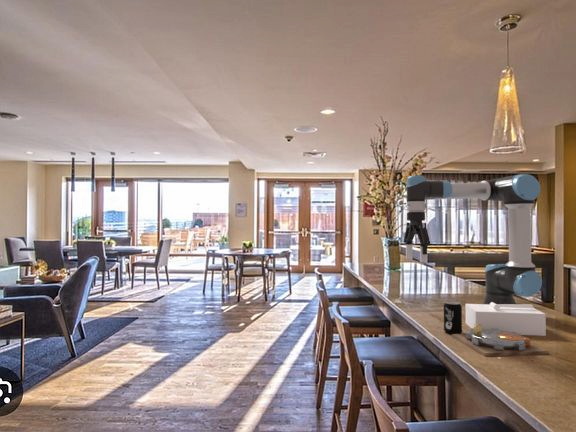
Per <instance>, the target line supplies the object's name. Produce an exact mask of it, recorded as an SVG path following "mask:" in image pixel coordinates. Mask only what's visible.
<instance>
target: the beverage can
mask: <svg viewBox="0 0 576 432" xmlns="http://www.w3.org/2000/svg"><path fill="white" fill-rule="evenodd" d="M443 331H444V332H445V333H446V334H448V335H452V334H462V332H463V307H462V305H461V302H460V301H457V300H456V301H455V300H446V301H444V304H443Z"/></svg>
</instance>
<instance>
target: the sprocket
mask: <svg viewBox="0 0 576 432" xmlns="http://www.w3.org/2000/svg"><path fill="white" fill-rule="evenodd" d="M470 329H471V330H466V331H465V334H466V339H471V340H472V343H473V344H476V345H484V346H488V347H493V348H494V349H497V350H504V349H516V350H525V346H530V343H531V339H530V337H524V335H521V333H517V332H509V331H504V330H499V329H498V328H491V329H482V325H481V324H474V328H470Z"/></svg>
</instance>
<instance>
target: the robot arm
mask: <svg viewBox="0 0 576 432" xmlns="http://www.w3.org/2000/svg"><path fill="white" fill-rule="evenodd" d="M540 194H541V185H540V182H539V180H538V179H537V178H536V177H535V176H533V175H531V174H528V173H524V174H521V173H520V174H514V175H509V176H503V177H499V178H493V179H489V180H482V181H480V182H453V183H452V182H450V181H448V180H426V176H424V175H410V176H408V177H407V179H406V204H405V205H406V210H407V212H406V221H410V222H406V227H405V232H404V236H403V243H404V244H405V259H406V260H413V244H414V243H413V240H414V237H415V235H417V239H418V240H419V241H418V242H419V243H420V245H419V252H420V253H419V262H420V263H428V247H429V246H431V241H430V237H429V233H428V227H427V222H423V221H425V220H426V212H425V211H426V200H461V199H463V200H465V199H467V200H469V199H472V200H473V199H480V201H494V202H495V201H496V202H503V203H504V204H503V206H505V207H506V208H507V209H508V210H507V211H508V212H507V219H508V221H507V222H508V225H507V226H508V227H507V228H508V262H506V263H499V264H493V263H492V264H487V265H486V266H485V270H484V273H485V275H484V276H485V295H484V299H483V302H482V304H490V303H491V302H493V303H495V304H514V305H517V303H516V301H515V298H514V295H517V296H519V297H526V298H527V297H529V298H531V297H533V296H535V295H537V293H538V292H539V291H540V290H541V288H542V286H543V279H542V276H541V275H540V273H538V272H537V271H536V265H535V264H534V263H533V262H532V234H531V231H532V229H531V228H532V227H531V226H532V225H531V223H532V222H531V208H532V207H533V206H535V200H536V199H537V198H538V197H539V196H540Z"/></svg>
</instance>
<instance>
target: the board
mask: <svg viewBox="0 0 576 432" xmlns="http://www.w3.org/2000/svg"><path fill="white" fill-rule="evenodd" d="M451 337H452V338H453V339H455V340H457V341H458V342H460V343H462V344H464V345H465V346H466V347H469V348H470V349H472V350H473V351H475V352H477V353H478V354H480V355H482V356H483V357H500V356H501V357H502V356H525V355H526V356H528V355H531V356H533V355H549V350H547V349H544V348H543V347H540V346H538V345H536V344H534V343H532V342H530V346H525V350H516V349H504V350H497V349H494V348H493V347H488V346H484V345H476V344H473V343H472V340H471V339H466V333H461V334H451Z"/></svg>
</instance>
